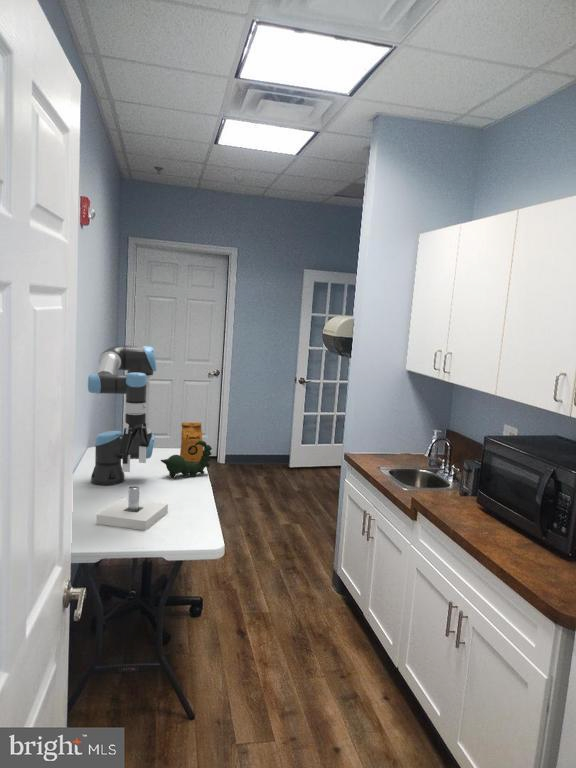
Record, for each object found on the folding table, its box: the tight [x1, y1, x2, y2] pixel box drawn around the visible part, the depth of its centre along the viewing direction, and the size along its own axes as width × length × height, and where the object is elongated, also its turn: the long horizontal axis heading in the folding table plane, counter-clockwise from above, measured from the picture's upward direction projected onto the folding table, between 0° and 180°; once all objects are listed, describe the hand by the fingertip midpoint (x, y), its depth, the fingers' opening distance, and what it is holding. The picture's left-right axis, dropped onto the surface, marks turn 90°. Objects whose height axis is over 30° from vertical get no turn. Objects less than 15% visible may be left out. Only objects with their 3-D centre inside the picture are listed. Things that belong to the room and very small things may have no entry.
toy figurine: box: [160, 440, 213, 478], centre depth 271 cm, size 9×19×25 cm
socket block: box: [95, 497, 169, 531], centre depth 213 cm, size 20×20×4 cm
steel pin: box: [127, 486, 140, 512], centre depth 213 cm, size 4×4×12 cm
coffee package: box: [179, 421, 204, 463], centre depth 299 cm, size 10×12×22 cm
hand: (134, 467), depth 211 cm, fingers open, 13 cm apart
